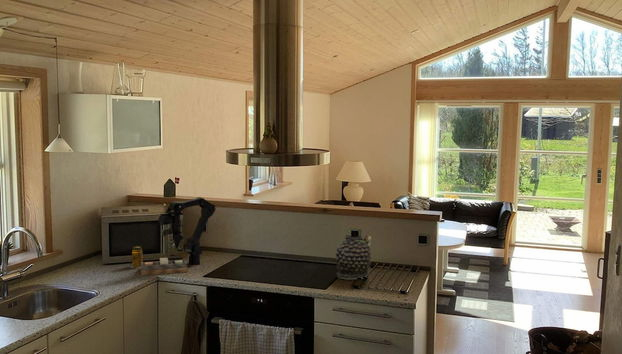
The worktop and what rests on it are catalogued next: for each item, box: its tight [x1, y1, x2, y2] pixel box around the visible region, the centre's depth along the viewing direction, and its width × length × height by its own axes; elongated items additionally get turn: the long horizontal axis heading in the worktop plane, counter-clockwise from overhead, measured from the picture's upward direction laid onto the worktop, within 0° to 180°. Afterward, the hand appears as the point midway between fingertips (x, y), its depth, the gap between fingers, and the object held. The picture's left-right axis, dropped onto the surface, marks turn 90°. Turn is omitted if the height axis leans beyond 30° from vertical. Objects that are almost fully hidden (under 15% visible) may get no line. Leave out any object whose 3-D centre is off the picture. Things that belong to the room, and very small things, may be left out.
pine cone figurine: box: [335, 234, 372, 280], centre depth 332 cm, size 21×15×25 cm
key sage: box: [174, 259, 183, 264], centre depth 346 cm, size 4×4×3 cm
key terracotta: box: [144, 261, 154, 266], centre depth 340 cm, size 4×4×3 cm
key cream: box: [159, 257, 169, 265], centre depth 343 cm, size 4×4×3 cm
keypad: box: [140, 259, 189, 276], centre depth 343 cm, size 26×14×4 cm, turn 108°
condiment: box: [130, 245, 144, 269], centre depth 352 cm, size 7×8×12 cm
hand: (176, 248), depth 349 cm, fingers closed
